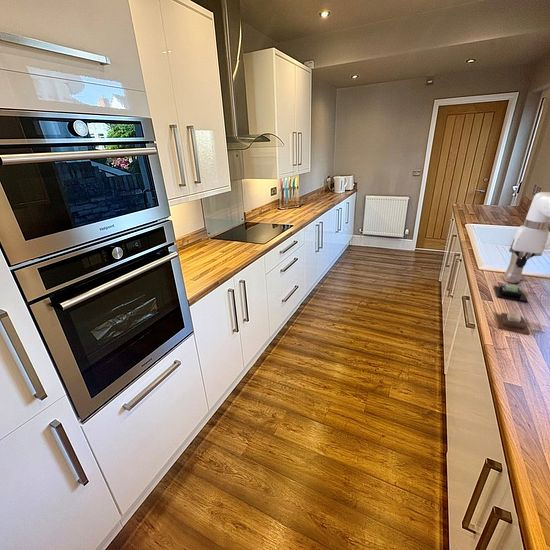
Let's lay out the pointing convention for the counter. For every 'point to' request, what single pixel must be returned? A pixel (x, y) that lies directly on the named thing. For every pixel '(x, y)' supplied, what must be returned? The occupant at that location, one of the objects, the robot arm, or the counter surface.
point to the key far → (511, 288)
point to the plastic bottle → (513, 270)
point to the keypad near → (511, 324)
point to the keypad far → (509, 294)
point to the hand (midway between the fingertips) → (519, 266)
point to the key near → (513, 317)
